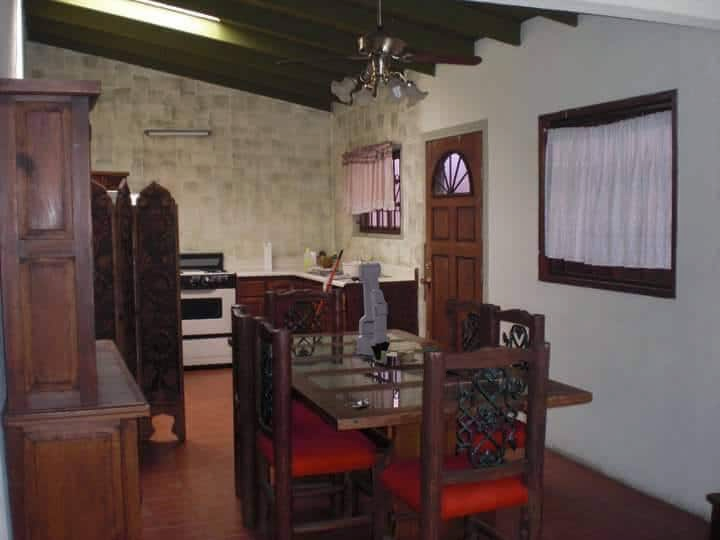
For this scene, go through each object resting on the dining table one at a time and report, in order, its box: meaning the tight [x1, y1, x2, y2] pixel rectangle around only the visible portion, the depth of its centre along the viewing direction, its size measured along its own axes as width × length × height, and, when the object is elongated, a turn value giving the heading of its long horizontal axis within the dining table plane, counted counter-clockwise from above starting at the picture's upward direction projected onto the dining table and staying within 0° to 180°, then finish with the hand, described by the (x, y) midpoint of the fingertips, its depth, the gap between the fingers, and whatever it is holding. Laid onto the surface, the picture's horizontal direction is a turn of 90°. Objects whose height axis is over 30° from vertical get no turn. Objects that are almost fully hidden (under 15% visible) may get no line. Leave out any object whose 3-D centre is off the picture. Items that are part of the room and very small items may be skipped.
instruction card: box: [387, 351, 398, 358], centre depth 375 cm, size 12×9×1 cm
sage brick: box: [374, 350, 388, 364], centre depth 357 cm, size 4×4×5 cm
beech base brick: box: [396, 349, 415, 362], centre depth 363 cm, size 6×6×4 cm
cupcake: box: [419, 331, 439, 352], centre depth 374 cm, size 9×8×12 cm
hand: (380, 359), depth 357 cm, fingers open, 4 cm apart
